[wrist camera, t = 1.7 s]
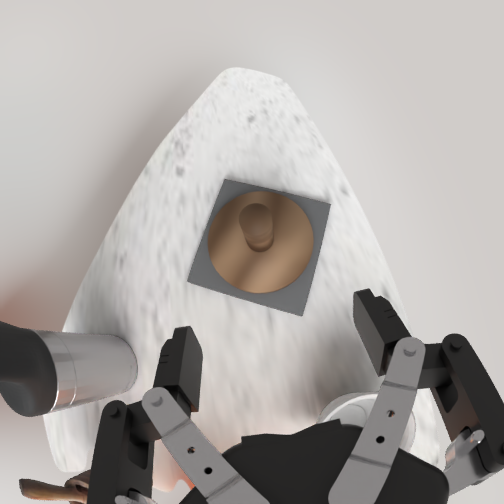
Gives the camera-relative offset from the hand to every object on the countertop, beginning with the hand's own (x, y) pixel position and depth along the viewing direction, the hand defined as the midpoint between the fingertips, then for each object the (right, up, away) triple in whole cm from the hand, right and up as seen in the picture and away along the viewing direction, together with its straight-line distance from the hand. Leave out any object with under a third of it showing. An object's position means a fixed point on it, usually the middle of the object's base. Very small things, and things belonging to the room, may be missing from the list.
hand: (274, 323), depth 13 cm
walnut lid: (0, +5, +25) cm, 26 cm away
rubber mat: (0, +5, +26) cm, 27 cm away
